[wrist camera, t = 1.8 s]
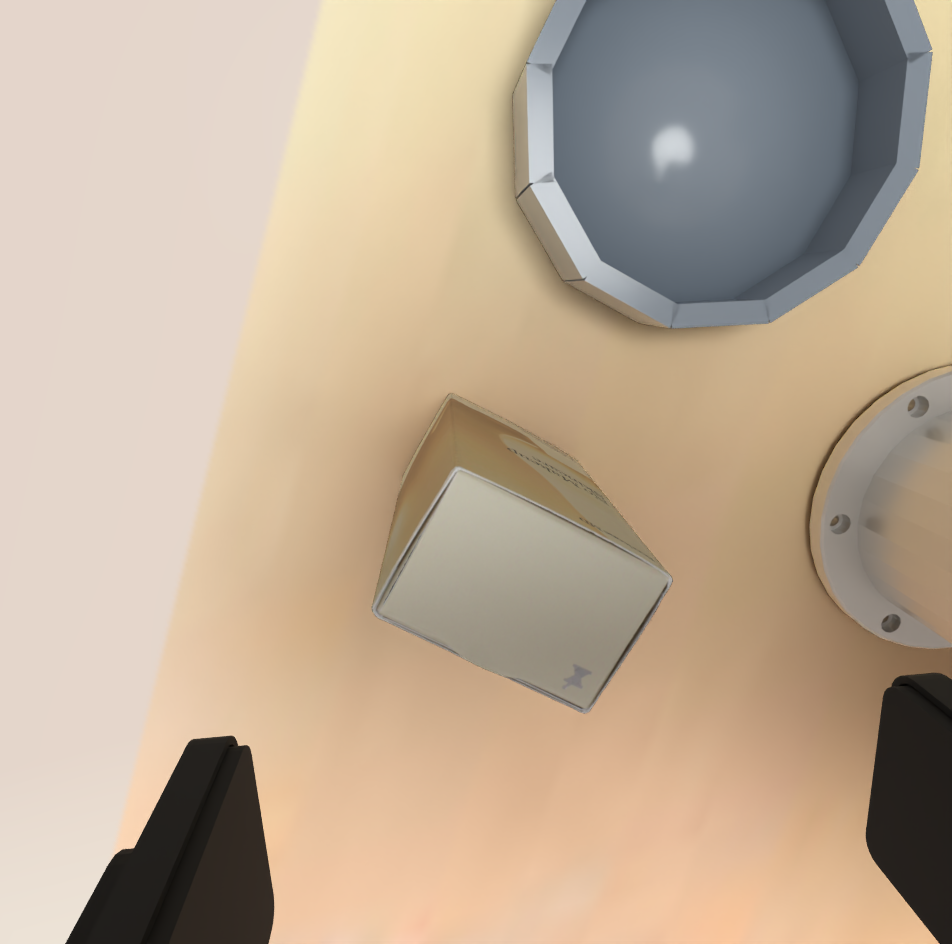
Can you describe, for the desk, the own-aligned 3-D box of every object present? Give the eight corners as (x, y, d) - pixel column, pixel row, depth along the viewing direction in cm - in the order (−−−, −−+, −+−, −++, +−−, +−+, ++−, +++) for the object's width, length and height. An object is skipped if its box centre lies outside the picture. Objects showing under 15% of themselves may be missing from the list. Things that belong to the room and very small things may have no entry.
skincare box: (580, 458, 28) (693, 582, 16) (528, 547, 29) (598, 725, 17) (442, 384, 27) (455, 458, 15) (392, 478, 27) (365, 619, 16)
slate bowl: (878, -69, 24) (953, -129, 20) (842, 313, 27) (902, 316, 24) (507, -62, 23) (522, -123, 20) (519, 329, 26) (532, 335, 23)
